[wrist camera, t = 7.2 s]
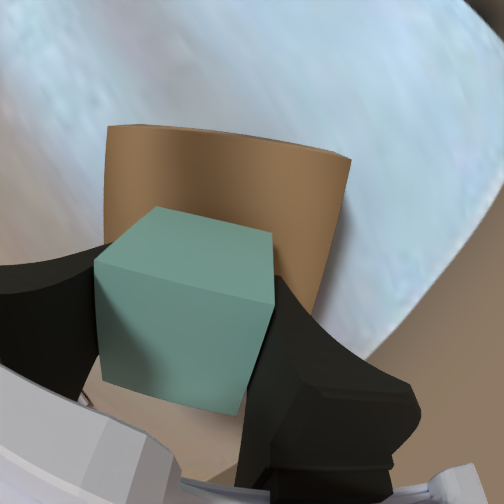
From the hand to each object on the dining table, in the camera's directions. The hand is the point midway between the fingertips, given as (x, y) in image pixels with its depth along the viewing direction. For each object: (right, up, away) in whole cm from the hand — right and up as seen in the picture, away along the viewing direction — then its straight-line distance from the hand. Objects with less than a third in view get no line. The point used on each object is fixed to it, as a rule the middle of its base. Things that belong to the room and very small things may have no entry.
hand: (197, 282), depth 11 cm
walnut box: (0, +2, +6) cm, 6 cm away
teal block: (0, 0, +2) cm, 2 cm away
